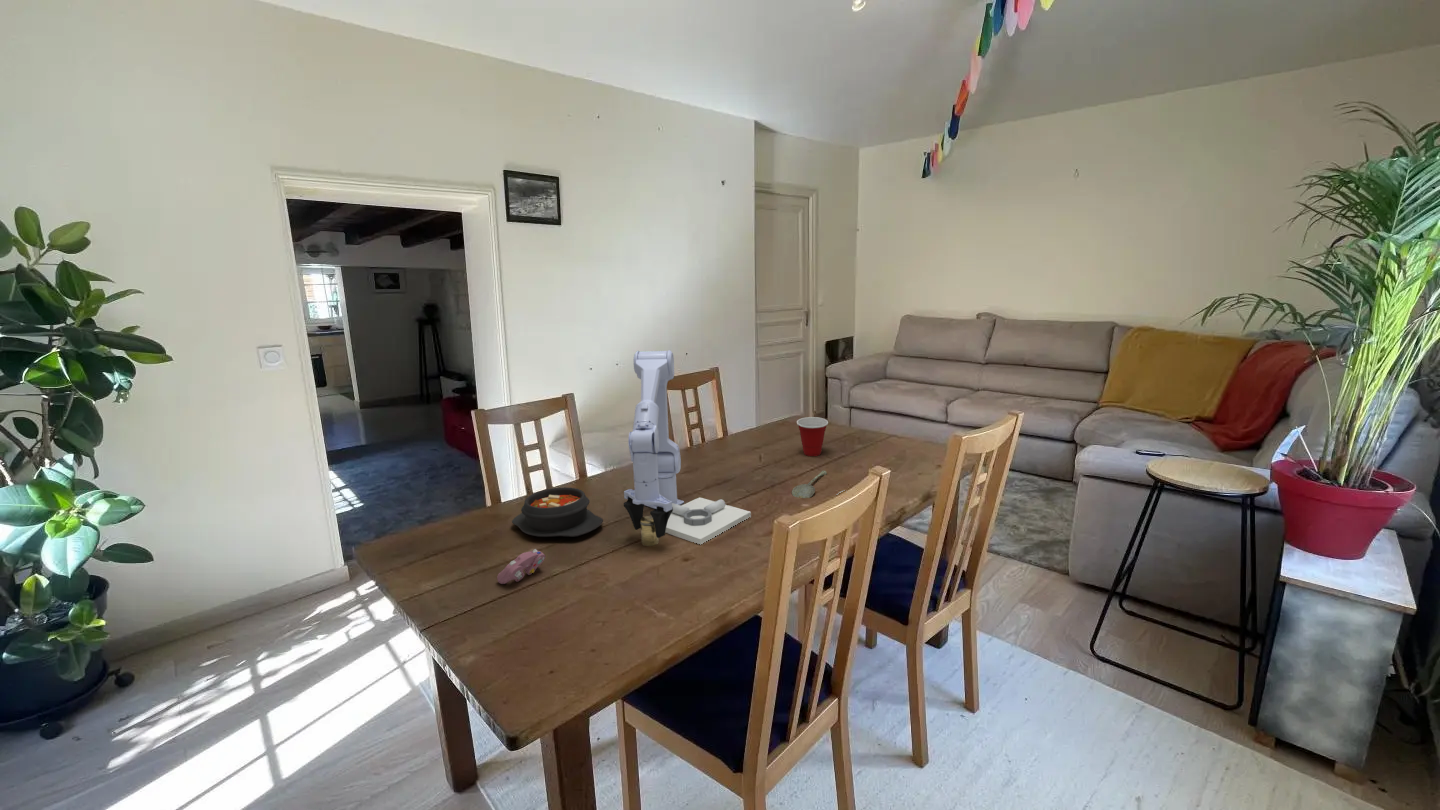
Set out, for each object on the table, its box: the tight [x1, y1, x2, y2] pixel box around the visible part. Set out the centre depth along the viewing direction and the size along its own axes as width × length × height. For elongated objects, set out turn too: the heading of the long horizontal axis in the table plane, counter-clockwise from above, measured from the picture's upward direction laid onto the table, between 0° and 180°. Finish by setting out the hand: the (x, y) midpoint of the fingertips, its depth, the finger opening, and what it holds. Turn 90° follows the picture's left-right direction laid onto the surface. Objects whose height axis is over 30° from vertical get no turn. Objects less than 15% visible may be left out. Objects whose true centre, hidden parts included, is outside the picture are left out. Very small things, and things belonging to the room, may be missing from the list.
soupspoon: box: [791, 470, 827, 499], centre depth 177 cm, size 22×3×7 cm
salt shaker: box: [640, 515, 659, 547], centre depth 143 cm, size 4×4×6 cm
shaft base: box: [665, 496, 752, 546], centre depth 154 cm, size 18×20×4 cm
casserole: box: [511, 487, 604, 538], centre depth 153 cm, size 25×19×8 cm
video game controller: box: [496, 548, 546, 585], centre depth 128 cm, size 10×5×7 cm, turn 148°
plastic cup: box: [796, 416, 829, 457], centre depth 206 cm, size 11×11×12 cm
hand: (649, 532), depth 143 cm, fingers open, 7 cm apart
